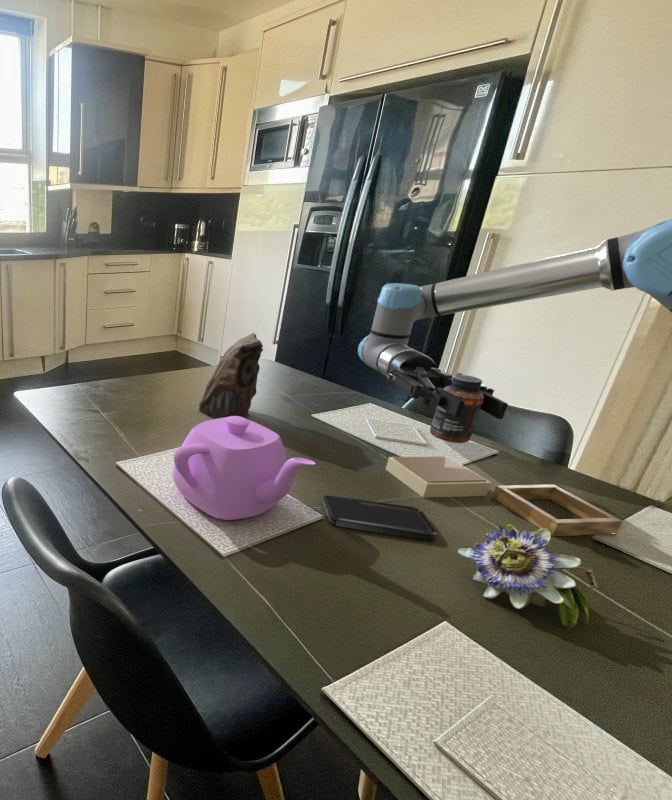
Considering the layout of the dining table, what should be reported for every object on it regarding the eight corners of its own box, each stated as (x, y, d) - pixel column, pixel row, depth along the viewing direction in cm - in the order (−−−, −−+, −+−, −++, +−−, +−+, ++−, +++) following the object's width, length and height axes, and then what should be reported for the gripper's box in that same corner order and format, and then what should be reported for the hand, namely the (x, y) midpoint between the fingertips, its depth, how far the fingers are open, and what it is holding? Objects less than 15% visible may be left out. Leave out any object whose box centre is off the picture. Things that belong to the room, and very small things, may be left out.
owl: (240, 405, 125) (252, 330, 118) (270, 425, 114) (285, 343, 107) (196, 409, 123) (205, 332, 115) (221, 430, 111) (233, 345, 104)
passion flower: (477, 629, 66) (436, 544, 67) (524, 593, 69) (484, 513, 71) (581, 650, 55) (530, 549, 56) (630, 606, 59) (581, 512, 60)
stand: (442, 468, 96) (447, 454, 95) (486, 496, 87) (491, 481, 86) (385, 469, 95) (389, 456, 94) (423, 497, 86) (427, 483, 85)
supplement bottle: (464, 434, 89) (484, 375, 85) (473, 447, 84) (495, 386, 80) (425, 427, 91) (444, 370, 87) (432, 440, 86) (452, 380, 82)
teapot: (140, 491, 86) (146, 414, 81) (227, 465, 96) (238, 394, 90) (234, 571, 68) (251, 477, 62) (332, 529, 77) (354, 444, 71)
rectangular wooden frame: (548, 496, 87) (553, 484, 86) (616, 534, 77) (623, 521, 76) (491, 497, 86) (496, 485, 85) (552, 536, 76) (558, 523, 75)
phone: (439, 536, 74) (332, 519, 77) (437, 542, 74) (330, 525, 78) (420, 507, 81) (322, 493, 84) (418, 513, 81) (321, 498, 85)
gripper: (449, 386, 102) (534, 434, 81) (355, 381, 104) (414, 427, 82) (460, 352, 99) (552, 392, 78) (363, 348, 101) (427, 385, 80)
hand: (481, 410), depth 80 cm, fingers closed on supplement bottle, 6 cm apart
